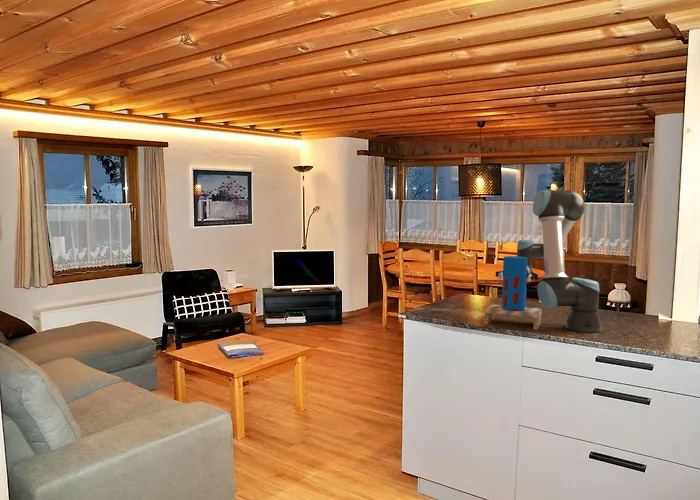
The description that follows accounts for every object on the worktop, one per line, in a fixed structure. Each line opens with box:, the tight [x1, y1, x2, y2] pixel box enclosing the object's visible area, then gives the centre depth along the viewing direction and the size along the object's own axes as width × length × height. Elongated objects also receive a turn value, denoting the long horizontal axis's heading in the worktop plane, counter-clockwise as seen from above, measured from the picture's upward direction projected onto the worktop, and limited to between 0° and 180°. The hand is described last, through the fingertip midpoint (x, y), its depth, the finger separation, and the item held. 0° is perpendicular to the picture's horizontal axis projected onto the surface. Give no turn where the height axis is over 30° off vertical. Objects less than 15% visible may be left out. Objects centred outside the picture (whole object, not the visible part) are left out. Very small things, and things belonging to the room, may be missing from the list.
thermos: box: [501, 255, 528, 311], centre depth 264 cm, size 11×11×25 cm
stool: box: [484, 303, 542, 330], centre depth 266 cm, size 24×14×7 cm, turn 64°
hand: (513, 277), depth 264 cm, fingers open, 13 cm apart
